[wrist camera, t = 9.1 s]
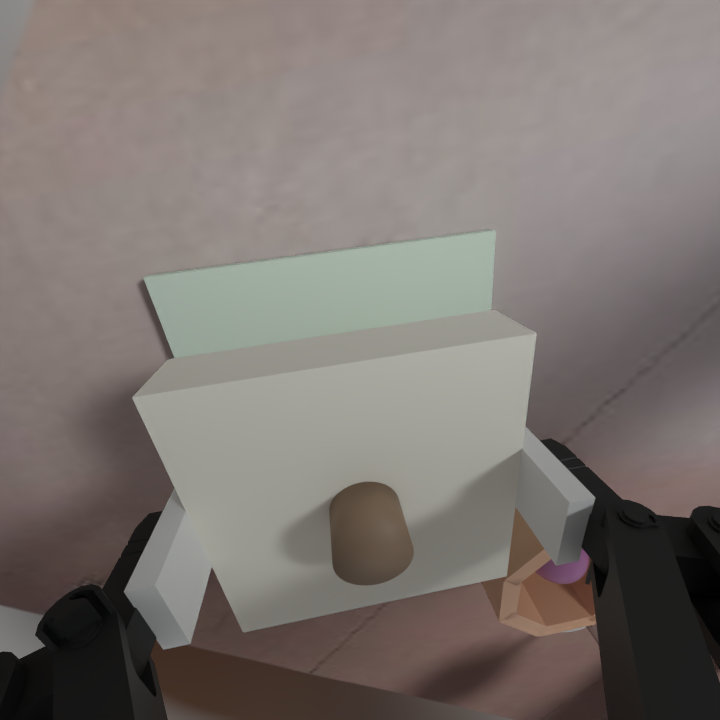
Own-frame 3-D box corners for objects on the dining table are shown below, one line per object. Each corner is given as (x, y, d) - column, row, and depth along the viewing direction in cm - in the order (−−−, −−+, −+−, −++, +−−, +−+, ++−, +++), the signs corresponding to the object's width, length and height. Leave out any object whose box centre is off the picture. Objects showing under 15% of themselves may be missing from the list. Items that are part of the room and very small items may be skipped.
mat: (149, 274, 14) (143, 277, 14) (489, 229, 15) (495, 230, 15) (242, 519, 21) (240, 528, 20) (476, 476, 22) (480, 483, 21)
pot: (461, 467, 21) (507, 547, 16) (595, 443, 22) (678, 512, 17) (459, 559, 25) (495, 646, 20) (572, 536, 26) (635, 615, 21)
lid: (168, 359, 11) (89, 442, 7) (494, 309, 12) (583, 359, 8) (252, 573, 15) (233, 691, 12) (480, 527, 16) (532, 624, 12)
